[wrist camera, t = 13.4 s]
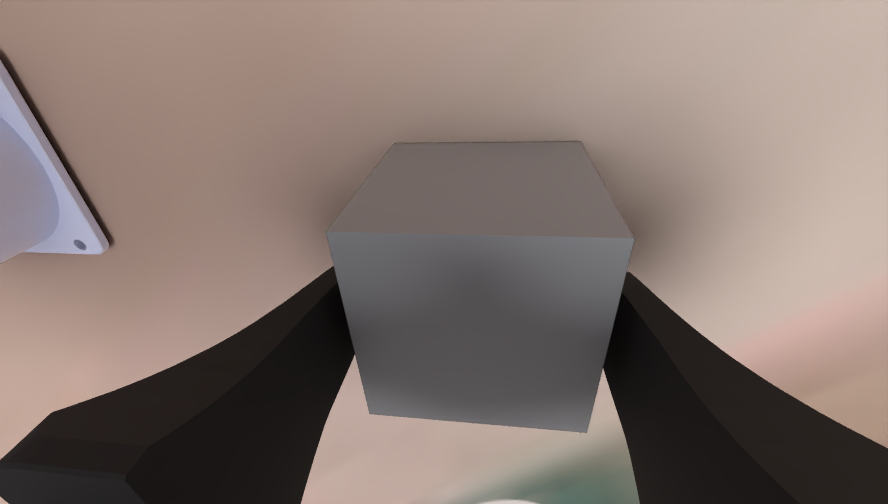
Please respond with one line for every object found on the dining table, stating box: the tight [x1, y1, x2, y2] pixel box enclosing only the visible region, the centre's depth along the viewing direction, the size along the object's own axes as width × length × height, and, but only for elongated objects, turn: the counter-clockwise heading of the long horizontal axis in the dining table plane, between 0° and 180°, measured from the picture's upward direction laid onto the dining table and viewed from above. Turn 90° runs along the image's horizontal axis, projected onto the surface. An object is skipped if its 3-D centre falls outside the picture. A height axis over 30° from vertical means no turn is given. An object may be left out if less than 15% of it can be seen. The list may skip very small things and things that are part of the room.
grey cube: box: [326, 142, 635, 433], centre depth 12 cm, size 6×6×6 cm
